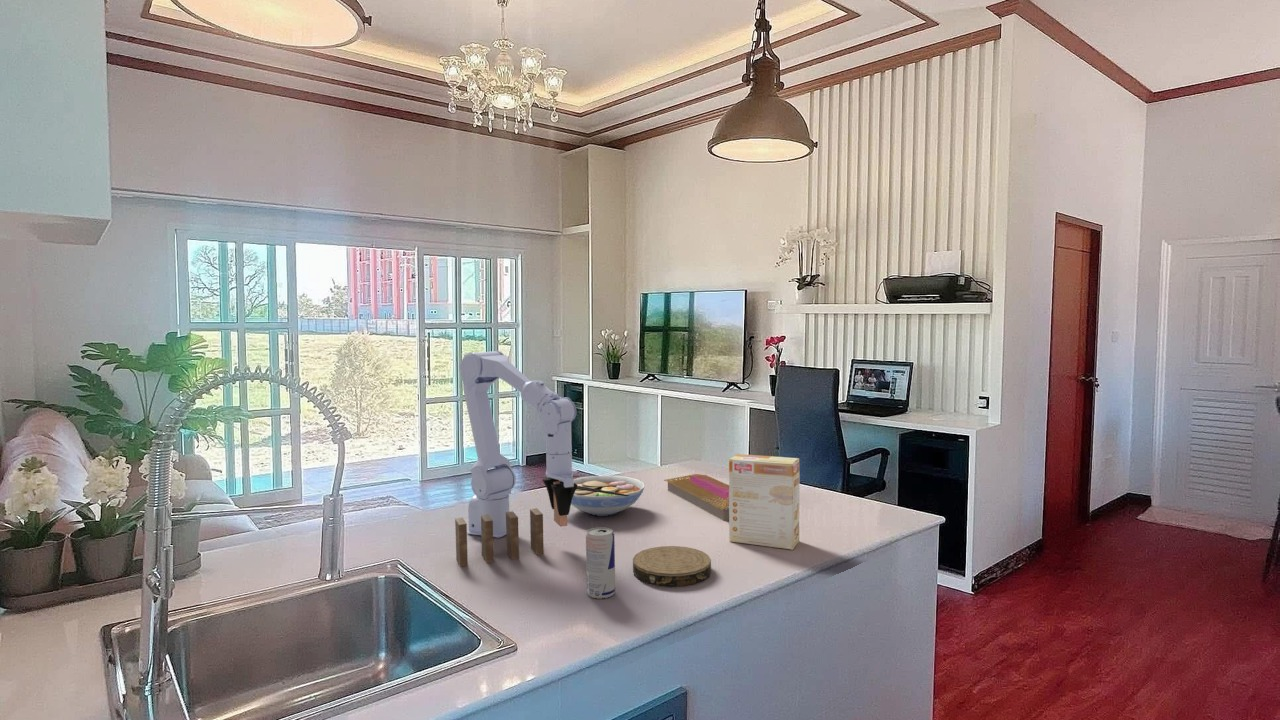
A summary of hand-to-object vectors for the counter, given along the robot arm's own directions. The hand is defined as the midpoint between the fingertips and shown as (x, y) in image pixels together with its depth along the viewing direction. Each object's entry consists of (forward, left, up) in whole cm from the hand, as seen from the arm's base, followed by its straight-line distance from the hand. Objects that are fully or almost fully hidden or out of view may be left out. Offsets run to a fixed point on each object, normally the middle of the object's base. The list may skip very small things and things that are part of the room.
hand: (560, 511), depth 156 cm
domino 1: (-16, -16, -8) cm, 23 cm away
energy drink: (+19, -20, -8) cm, 30 cm away
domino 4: (-4, -4, -8) cm, 10 cm away
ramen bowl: (-3, +29, -8) cm, 30 cm away
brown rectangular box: (+22, +48, -9) cm, 54 cm away
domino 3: (-8, -8, -8) cm, 14 cm away
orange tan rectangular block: (0, 0, -3) cm, 3 cm away
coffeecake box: (+42, +20, -8) cm, 47 cm away
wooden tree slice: (+28, -5, -9) cm, 30 cm away
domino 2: (-12, -12, -8) cm, 18 cm away
